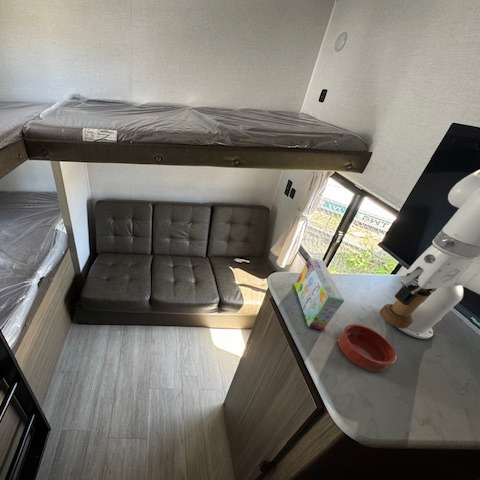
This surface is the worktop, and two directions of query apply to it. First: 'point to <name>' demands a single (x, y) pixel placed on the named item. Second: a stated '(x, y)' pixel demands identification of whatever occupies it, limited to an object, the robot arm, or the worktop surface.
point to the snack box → (317, 294)
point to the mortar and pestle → (403, 310)
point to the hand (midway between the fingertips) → (408, 299)
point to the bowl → (366, 348)
